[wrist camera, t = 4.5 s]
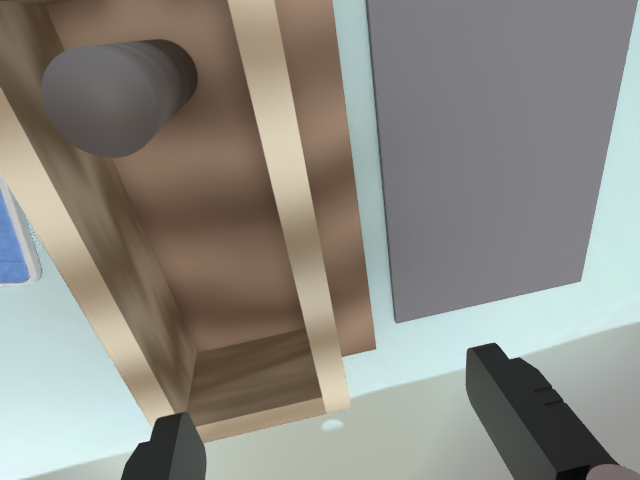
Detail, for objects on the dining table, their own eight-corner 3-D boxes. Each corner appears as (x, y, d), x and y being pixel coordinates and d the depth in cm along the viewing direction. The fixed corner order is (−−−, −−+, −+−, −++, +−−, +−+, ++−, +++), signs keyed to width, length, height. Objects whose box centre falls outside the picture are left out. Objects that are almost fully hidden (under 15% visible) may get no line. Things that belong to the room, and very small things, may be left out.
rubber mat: (344, -244, 16) (346, -250, 15) (690, -298, 17) (699, -305, 16) (394, 320, 30) (396, 323, 30) (577, 278, 31) (580, 281, 31)
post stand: (-90, -70, 16) (-528, -196, 7) (308, -137, 17) (369, -326, 8) (156, 384, 30) (112, 540, 21) (371, 335, 31) (419, 464, 22)
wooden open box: (-10, -30, 16) (-138, -58, 11) (252, -76, 17) (251, -124, 11) (182, 372, 28) (166, 452, 23) (333, 338, 28) (351, 407, 23)
